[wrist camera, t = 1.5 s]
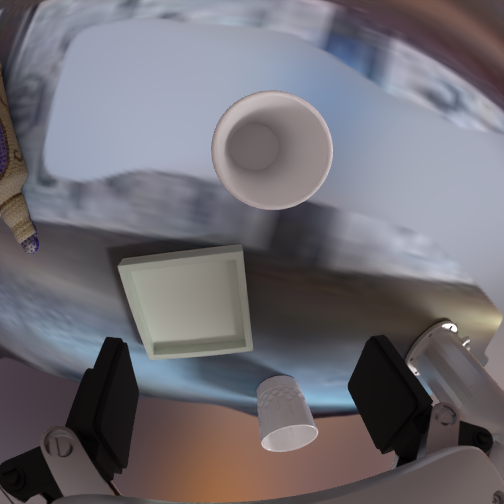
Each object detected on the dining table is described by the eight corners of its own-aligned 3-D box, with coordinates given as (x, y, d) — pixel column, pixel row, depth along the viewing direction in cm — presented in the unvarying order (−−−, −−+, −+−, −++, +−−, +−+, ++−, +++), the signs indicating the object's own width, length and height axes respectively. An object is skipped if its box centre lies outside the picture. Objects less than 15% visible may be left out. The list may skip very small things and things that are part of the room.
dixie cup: (207, 116, 25) (201, 100, 15) (285, 104, 26) (324, 86, 15) (222, 191, 28) (224, 221, 18) (297, 178, 29) (339, 200, 19)
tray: (241, 243, 31) (242, 251, 29) (251, 340, 36) (253, 350, 34) (123, 258, 30) (117, 266, 28) (152, 349, 35) (149, 359, 33)
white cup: (289, 404, 43) (302, 451, 34) (245, 400, 41) (253, 451, 32) (309, 374, 40) (328, 424, 31) (262, 369, 38) (274, 424, 29)
